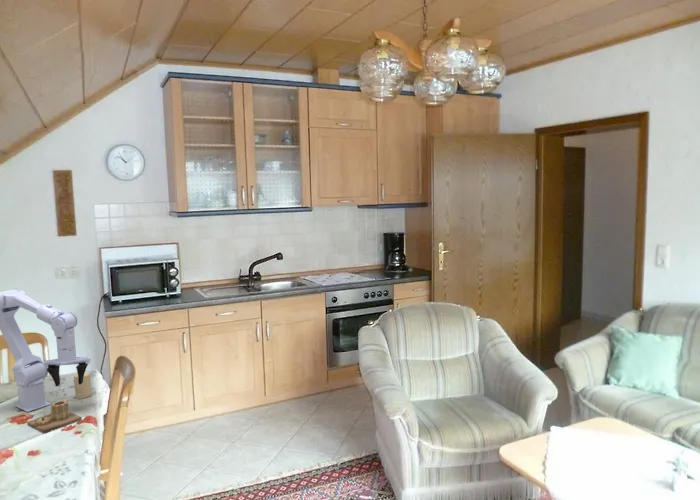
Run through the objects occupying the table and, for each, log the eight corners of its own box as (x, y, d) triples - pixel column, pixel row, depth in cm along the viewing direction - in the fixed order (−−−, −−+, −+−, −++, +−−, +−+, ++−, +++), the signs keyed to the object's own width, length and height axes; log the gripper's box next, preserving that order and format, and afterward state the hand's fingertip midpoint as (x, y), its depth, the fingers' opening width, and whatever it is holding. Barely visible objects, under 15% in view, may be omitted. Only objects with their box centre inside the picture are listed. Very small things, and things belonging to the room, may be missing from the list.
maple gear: (49, 418, 172) (47, 404, 171) (64, 412, 176) (63, 399, 176) (56, 421, 169) (55, 407, 168) (72, 416, 173) (71, 402, 173)
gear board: (27, 424, 170) (26, 411, 169) (64, 412, 179) (63, 398, 179) (44, 433, 163) (43, 419, 162) (81, 419, 173) (80, 406, 172)
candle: (84, 399, 191) (82, 373, 190) (72, 398, 192) (70, 373, 191) (95, 393, 196) (92, 368, 195) (82, 393, 197) (80, 368, 196)
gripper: (39, 352, 174) (42, 390, 175) (84, 349, 176) (87, 386, 178) (47, 346, 181) (51, 383, 182) (91, 343, 183) (93, 379, 185)
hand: (69, 384), depth 180 cm, fingers open, 7 cm apart
